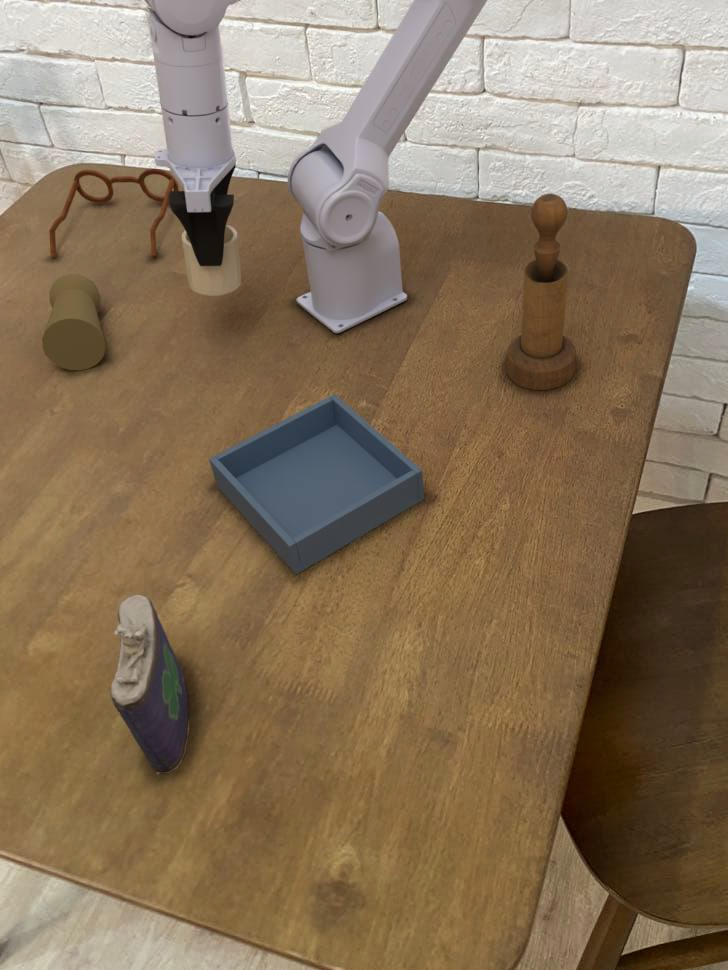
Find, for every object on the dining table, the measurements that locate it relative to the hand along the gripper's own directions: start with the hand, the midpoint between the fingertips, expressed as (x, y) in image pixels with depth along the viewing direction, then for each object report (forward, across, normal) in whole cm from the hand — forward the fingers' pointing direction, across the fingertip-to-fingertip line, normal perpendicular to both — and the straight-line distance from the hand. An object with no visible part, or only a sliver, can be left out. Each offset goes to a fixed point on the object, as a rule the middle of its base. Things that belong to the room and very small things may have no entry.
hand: (211, 248), depth 90 cm
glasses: (+11, -25, -13) cm, 31 cm away
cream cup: (+4, 0, 0) cm, 4 cm away
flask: (+13, +45, -3) cm, 47 cm away
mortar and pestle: (+8, +11, +31) cm, 34 cm away
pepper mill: (+9, +2, -15) cm, 17 cm away
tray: (+10, +24, +9) cm, 28 cm away
